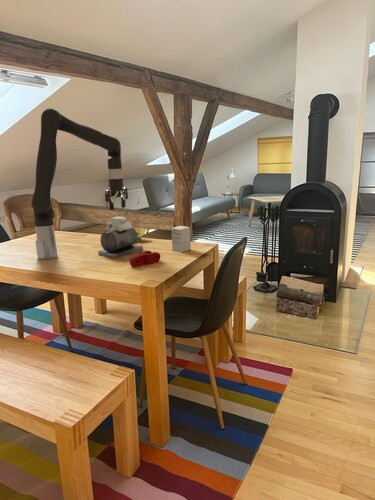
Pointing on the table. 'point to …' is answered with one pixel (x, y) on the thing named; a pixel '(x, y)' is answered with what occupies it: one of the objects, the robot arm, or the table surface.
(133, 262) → the mechanical linkage
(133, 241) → the motor
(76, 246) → the table surface
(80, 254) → the table surface
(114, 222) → the pale green block
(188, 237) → the supplement box
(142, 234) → the plastic component
